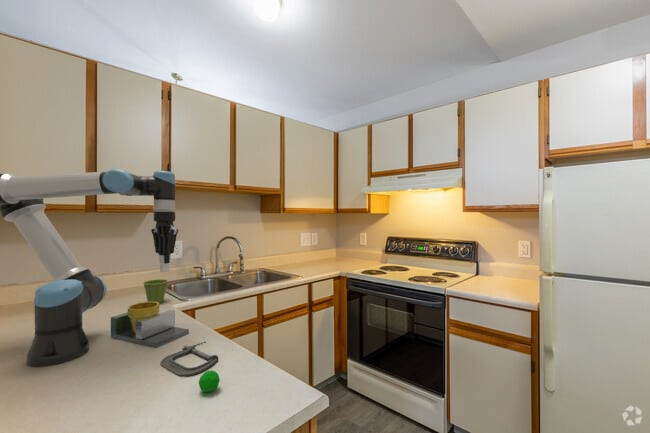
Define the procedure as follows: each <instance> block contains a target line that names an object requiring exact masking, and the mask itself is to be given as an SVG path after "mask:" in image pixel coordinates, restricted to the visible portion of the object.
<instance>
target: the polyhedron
mask: <svg viewBox="0 0 650 433" xmlns="http://www.w3.org/2000/svg"><path fill="white" fill-rule="evenodd" d="M220 381H221V380H220V376H219V373H218V372H217V371H215V370H212V369H210V370H206V371H205V372H204V373H202V374H201V376H200V377H199V380H198V386H199V388H200V391H202V392H203V393H212V392H214V391H215V389H217V388H218V387H219V384H220Z"/></svg>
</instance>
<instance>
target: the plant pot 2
mask: <svg viewBox="0 0 650 433" xmlns="http://www.w3.org/2000/svg"><path fill="white" fill-rule="evenodd" d="M127 312H128V317H130V319H131V323H132V327H133V331H134V333H136V321H138V320H141V319H144V318H147V317H150V316H153V315H156V314H159V313H160V304H159V303H158V302H147V301H142V302H141V301H140V302H137V303H134V304H130V305H129V306H128V307H127Z"/></svg>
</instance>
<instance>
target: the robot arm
mask: <svg viewBox="0 0 650 433" xmlns="http://www.w3.org/2000/svg"><path fill="white" fill-rule="evenodd" d="M176 185H177V183H176V174H175V173H174V172H172V171H169V170H167V171H166V170H156V171H153V174H152V175H151V176H146V175H145V176H144V175H143V176H141V175H137V174H134V173H130V172H128V171H127V170H123V169H119V168H116V169H115V168H114V169H110V170H108V171H99V172H98V171H97V172H95V171H94V172H78V173H77V172H75V173H74V172H73V173H59V174H58V173H56V174H55V173H53V174H39V175H34V174H33V175H19V176H15V175H14V174H12V173H0V216H1V217H2V218H3V220H4V221H6V222H10V223H13V224H14V225H15V226H16V228H17V230H18V231H19V232H20V234H21V235H22V237H23V238H24V239H25V241H26V242H27V244H28V245H29V246H30V248H31V249H32V251H33V252H34V253H35V255H36V256H37V258H38V259H39V261H40V263H41V264H42V265H43V267H44V268H45V270H46V271H47V272H48V274H49V276H50V277H51V278H52V279H53V280H52V282H47V283H45V284H42V285H41V286H38V287H37V288H36V290H35V291H34V298H33V304H34V337H33V340H32V342H31V345H30V347H29V349H28V352H27V355H26V364H27V365H28V366H32V367H45V366H53V365H58V364H61V363H65V362H68V361H72V360H74V359H76V358H77V359H78V358H79V357H81V356H83V355H85V354H86V353H88V351H89V350H90V342H89V339H88V337H87V334H86V332H85V330H84V328H83V313H84V312H87V311H88V310H90V309H93V308H94V307H96V306H97V305H98V304H100V303H101V302H102V301H103V300H104V298H105V297H106V294H107V285H106V284H107V283H106V282H105V281H104V279H103V278H101V277H100V276H96V275H94V274H93V273H92V271H91V269H89V268H88V267H84V266H82V265H81V264H80V263H79V261H78V260H77V258H76V257H75V256H74V254H73V253H72V251H71V249H70V248H69V247H68V246H67V244H66V242H65V241H64V240H63V237H62V236H61V235H60V233H59V232H58V231H57V229H56V227H54V225H53V223H52V222H51V220H50V219H49V218H48V216H47V215H46V213H45V210H46V208H47V206H46V204H45V202H44V199H54V198H56V199H57V198H70V197H71V198H72V197H84V196H96V195H98V196H100V195H113V194H118V195H120V196H127V197H133V196H134V197H135V196H137V197H141V196H143V197H145V196H146V197H147V196H150V197H153V208H152V209H153V211H154V212H153V221H154V222H155V223H156V224H155V228H152V229H150V231H151V234H152V237H153V238H152V239H153V244H154V250H155V253H156V254H158V255H159V266H160V267H159V273H169V272H170V260H171V259H170V257H171V256H170V255H171V254H174V253H175V246H176V243H177V242H176V241H177V237H178V233H179V229H177V228H176V227H175V225H174V222H175V221H176V211H175V210H176Z"/></svg>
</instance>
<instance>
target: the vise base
mask: <svg viewBox="0 0 650 433" xmlns="http://www.w3.org/2000/svg"><path fill="white" fill-rule="evenodd" d="M189 331H190V330H189V329H188V328H184V327H178V326H177V327H176V326H174V327H171V328H169V329H166V330H164V331H161V332H159V333H156V334H154V335H151V336H149V337H146V338H144V339H138V338H136V333H134V331H133V327H132V323H131V319H130V317H128V311H126V312H124V313H122V314H118V315H117V314H116V315H114V316H111V317H110V338H112V339H115V340H119V341H120V340H121V341H125V342H130V343H134V344H138V345H143V346H147V347H151V348H155V349H156V348H158V347H161V346H163V345H166V344H168V343H170V342H173V341H174V340H177V339H180V338H181V337H183V336H186V335H188V334H190V332H189Z"/></svg>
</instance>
